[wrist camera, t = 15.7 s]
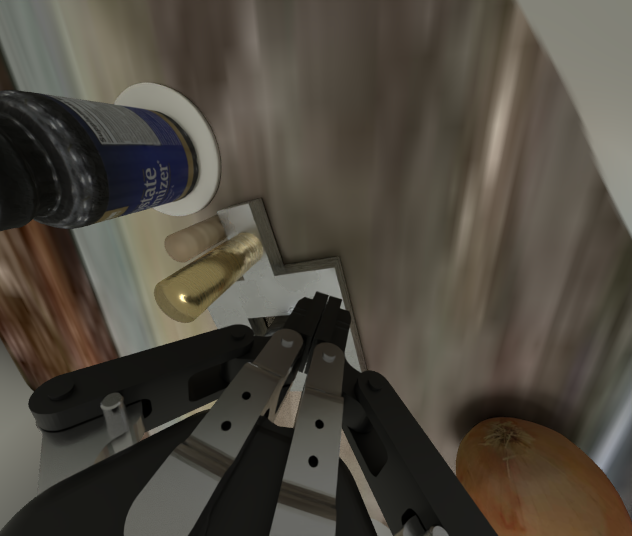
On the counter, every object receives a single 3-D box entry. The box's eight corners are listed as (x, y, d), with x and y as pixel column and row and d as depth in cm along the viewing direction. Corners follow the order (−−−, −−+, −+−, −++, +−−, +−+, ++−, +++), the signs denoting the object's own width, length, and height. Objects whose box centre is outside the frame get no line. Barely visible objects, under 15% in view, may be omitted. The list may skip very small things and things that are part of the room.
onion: (477, 470, 26) (523, 633, 18) (424, 408, 24) (445, 555, 16) (592, 453, 22) (729, 657, 13) (539, 375, 20) (657, 554, 11)
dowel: (237, 210, 20) (185, 234, 15) (242, 232, 21) (194, 262, 16) (217, 211, 21) (160, 234, 15) (223, 233, 21) (170, 262, 16)
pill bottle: (180, 215, 21) (7, 279, 11) (118, 160, 20) (-128, 177, 10) (216, 155, 18) (24, 171, 8) (145, 87, 17) (-159, 18, 8)
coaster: (201, 73, 17) (195, 71, 16) (232, 212, 20) (228, 214, 20) (97, 94, 19) (89, 93, 18) (142, 215, 23) (136, 217, 22)
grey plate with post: (367, 374, 24) (358, 493, 16) (256, 374, 28) (202, 470, 20) (321, 182, 17) (264, 216, 9) (184, 217, 21) (60, 263, 13)
